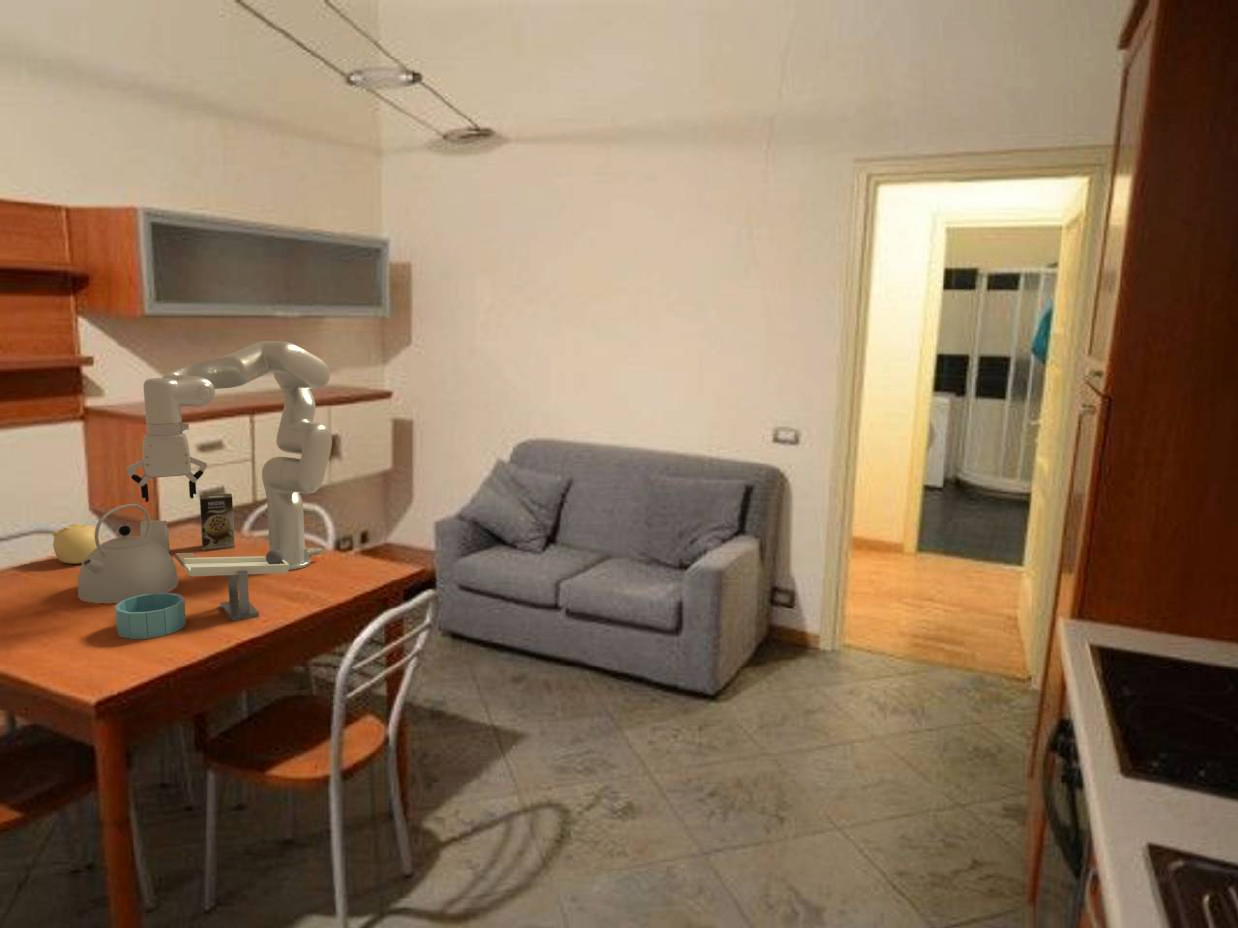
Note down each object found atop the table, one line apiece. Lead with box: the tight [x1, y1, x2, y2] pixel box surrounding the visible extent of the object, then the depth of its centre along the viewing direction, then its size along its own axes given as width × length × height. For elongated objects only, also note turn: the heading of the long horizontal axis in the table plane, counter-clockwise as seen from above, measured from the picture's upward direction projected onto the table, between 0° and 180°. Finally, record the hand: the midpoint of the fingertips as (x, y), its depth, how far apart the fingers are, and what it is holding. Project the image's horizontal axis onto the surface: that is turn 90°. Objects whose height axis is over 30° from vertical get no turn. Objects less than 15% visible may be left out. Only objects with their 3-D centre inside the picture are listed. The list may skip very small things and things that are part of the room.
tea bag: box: [139, 519, 171, 554], centre depth 247 cm, size 4×7×10 cm, turn 105°
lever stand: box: [219, 571, 260, 622], centre depth 202 cm, size 6×12×12 cm, turn 38°
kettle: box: [77, 503, 179, 604], centre depth 214 cm, size 25×23×22 cm
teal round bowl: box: [114, 592, 187, 640], centre depth 191 cm, size 14×14×6 cm
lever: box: [174, 552, 290, 579], centre depth 205 cm, size 22×18×3 cm
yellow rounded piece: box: [52, 523, 103, 564], centre depth 238 cm, size 12×12×11 cm
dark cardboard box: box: [199, 493, 236, 551], centre depth 256 cm, size 9×6×16 cm
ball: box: [265, 549, 283, 564], centre depth 207 cm, size 4×4×4 cm
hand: (169, 499), depth 203 cm, fingers open, 9 cm apart
